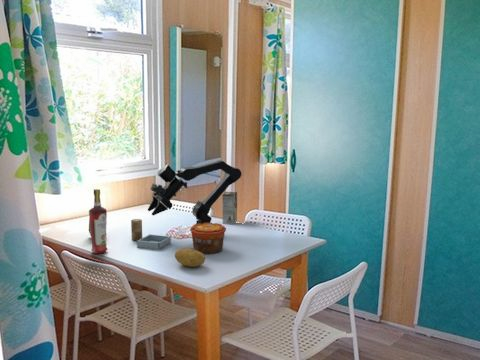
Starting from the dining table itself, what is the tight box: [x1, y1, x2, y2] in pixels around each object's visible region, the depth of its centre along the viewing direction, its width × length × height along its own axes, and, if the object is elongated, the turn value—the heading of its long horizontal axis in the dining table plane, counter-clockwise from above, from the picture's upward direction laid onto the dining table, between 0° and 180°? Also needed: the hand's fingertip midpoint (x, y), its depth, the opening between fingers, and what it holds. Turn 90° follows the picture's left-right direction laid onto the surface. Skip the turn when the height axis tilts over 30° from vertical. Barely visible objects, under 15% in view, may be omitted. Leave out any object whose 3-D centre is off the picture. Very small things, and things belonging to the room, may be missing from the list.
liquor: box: [88, 188, 108, 255], centre depth 211 cm, size 7×7×28 cm
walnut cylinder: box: [130, 218, 143, 242], centre depth 232 cm, size 5×5×10 cm
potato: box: [174, 247, 206, 268], centre depth 197 cm, size 9×13×7 cm
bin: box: [136, 234, 172, 251], centre depth 224 cm, size 11×11×3 cm
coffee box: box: [222, 191, 238, 225], centre depth 266 cm, size 9×6×16 cm
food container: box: [189, 222, 227, 255], centre depth 217 cm, size 16×16×11 cm
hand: (150, 212), depth 234 cm, fingers open, 9 cm apart
